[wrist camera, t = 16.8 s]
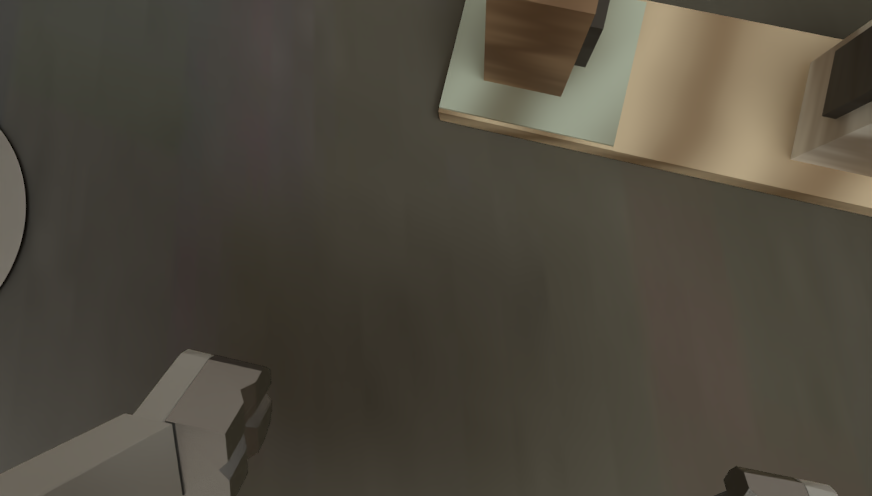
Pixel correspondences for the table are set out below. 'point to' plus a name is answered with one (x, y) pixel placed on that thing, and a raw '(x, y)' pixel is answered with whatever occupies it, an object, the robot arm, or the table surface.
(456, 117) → the rail
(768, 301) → the table surface
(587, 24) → the walnut block
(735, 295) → the table surface
